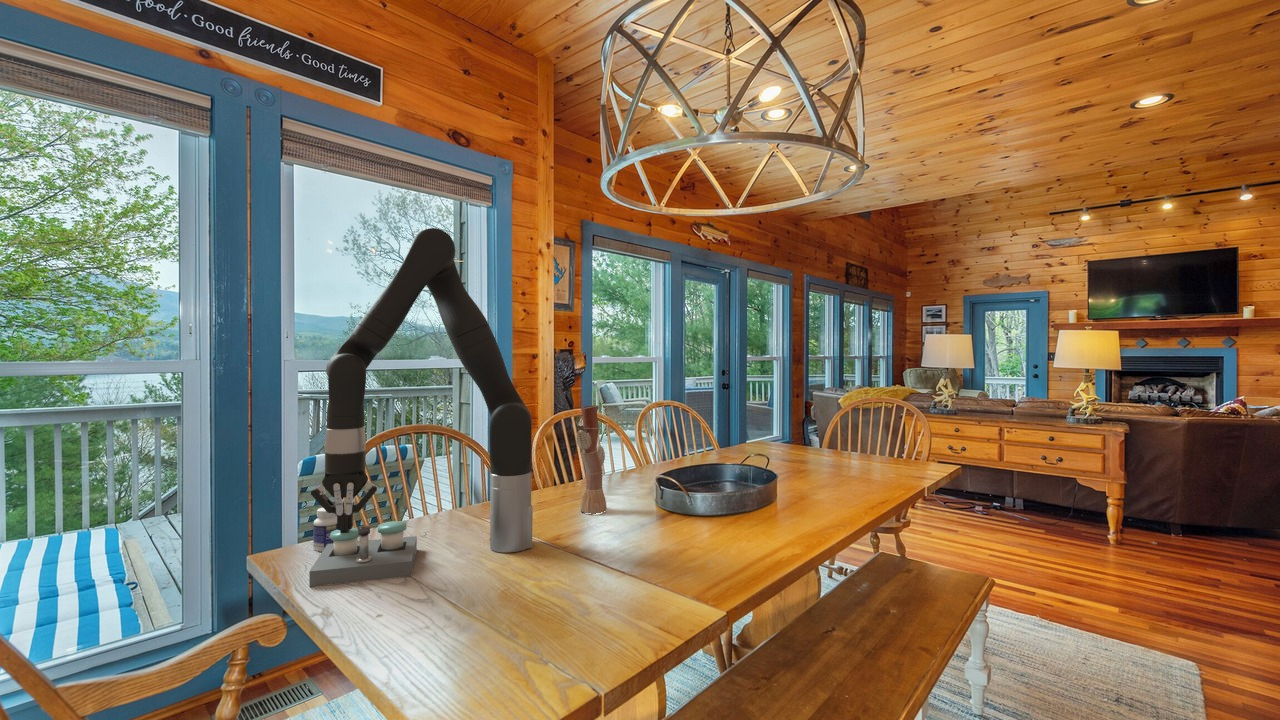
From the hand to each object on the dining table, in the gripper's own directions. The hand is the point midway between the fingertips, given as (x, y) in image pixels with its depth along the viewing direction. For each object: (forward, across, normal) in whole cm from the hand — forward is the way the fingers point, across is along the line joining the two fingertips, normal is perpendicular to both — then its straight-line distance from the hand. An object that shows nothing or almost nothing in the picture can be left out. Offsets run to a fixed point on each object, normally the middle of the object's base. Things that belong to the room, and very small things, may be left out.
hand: (345, 531), depth 119 cm
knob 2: (+4, -9, 0) cm, 10 cm away
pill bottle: (+7, +6, -13) cm, 16 cm away
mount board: (+7, -5, +2) cm, 9 cm away
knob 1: (+5, 0, 0) cm, 5 cm away
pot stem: (+4, -5, +7) cm, 9 cm away
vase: (+7, -58, -24) cm, 63 cm away
